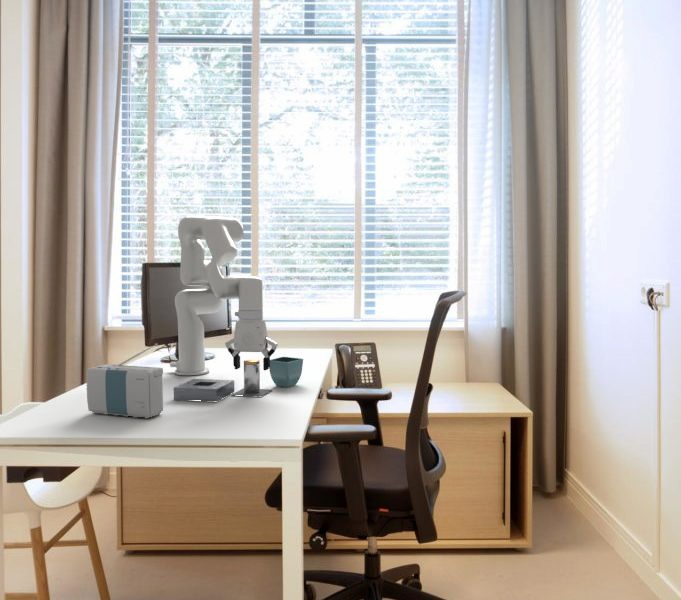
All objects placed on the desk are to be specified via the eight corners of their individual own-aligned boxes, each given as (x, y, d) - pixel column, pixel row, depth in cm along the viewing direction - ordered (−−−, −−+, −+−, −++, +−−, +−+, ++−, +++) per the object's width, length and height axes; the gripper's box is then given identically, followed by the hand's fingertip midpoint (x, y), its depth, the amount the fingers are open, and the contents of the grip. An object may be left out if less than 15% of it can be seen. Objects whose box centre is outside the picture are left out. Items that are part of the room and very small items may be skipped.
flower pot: (288, 389, 206) (288, 362, 205) (267, 386, 210) (267, 360, 210) (304, 384, 213) (303, 358, 212) (283, 382, 218) (283, 356, 217)
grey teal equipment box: (86, 415, 173) (83, 343, 172) (107, 408, 181) (104, 339, 180) (148, 421, 166) (146, 346, 165) (167, 414, 174) (165, 342, 172)
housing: (173, 400, 190) (173, 387, 190) (194, 390, 204) (193, 378, 203) (216, 402, 187) (216, 389, 187) (234, 392, 201) (234, 380, 200)
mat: (231, 396, 196) (231, 394, 196) (243, 389, 205) (243, 388, 205) (261, 397, 194) (261, 396, 194) (272, 390, 203) (272, 389, 203)
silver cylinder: (241, 393, 198) (241, 361, 197) (247, 390, 202) (247, 359, 202) (256, 393, 197) (256, 362, 196) (261, 390, 201) (261, 360, 201)
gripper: (220, 316, 196) (221, 370, 197) (273, 317, 192) (273, 372, 193) (229, 314, 203) (230, 366, 204) (280, 314, 200) (281, 367, 201)
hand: (251, 369), depth 199 cm, fingers open, 9 cm apart
